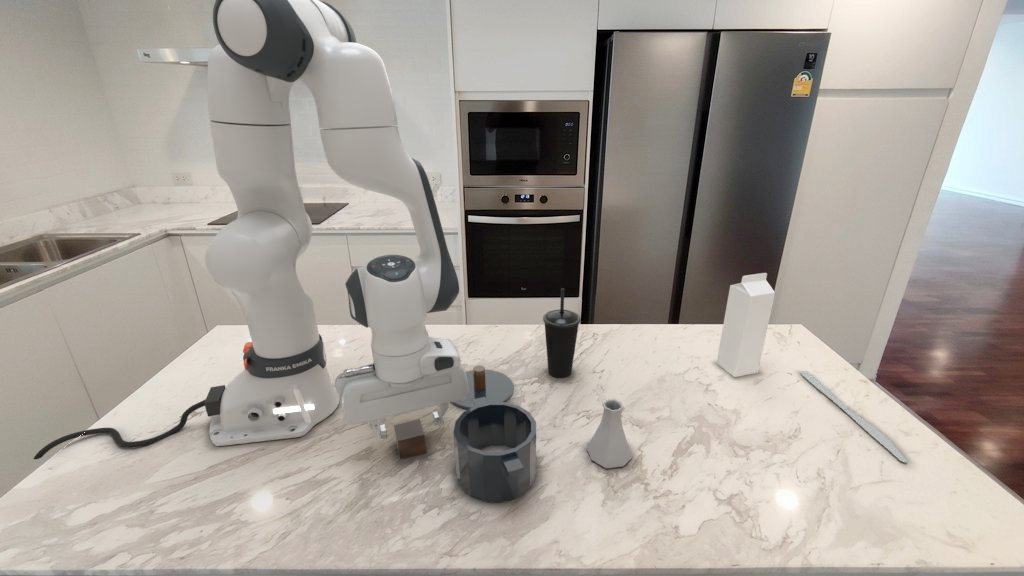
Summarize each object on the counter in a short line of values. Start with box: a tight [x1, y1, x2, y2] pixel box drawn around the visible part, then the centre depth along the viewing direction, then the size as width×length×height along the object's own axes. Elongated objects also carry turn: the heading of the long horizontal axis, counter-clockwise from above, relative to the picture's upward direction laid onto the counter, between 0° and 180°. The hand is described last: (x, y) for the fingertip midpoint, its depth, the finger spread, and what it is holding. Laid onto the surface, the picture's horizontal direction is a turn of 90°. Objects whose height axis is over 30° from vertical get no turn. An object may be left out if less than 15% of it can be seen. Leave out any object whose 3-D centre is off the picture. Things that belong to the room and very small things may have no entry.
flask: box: [586, 398, 633, 469], centre depth 79 cm, size 7×7×10 cm
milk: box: [716, 272, 776, 378], centre depth 101 cm, size 6×6×22 cm
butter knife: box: [800, 370, 908, 464], centre depth 90 cm, size 1×27×3 cm
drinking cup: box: [542, 287, 582, 380], centre depth 100 cm, size 8×8×20 cm
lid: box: [450, 364, 514, 410], centre depth 97 cm, size 14×14×6 cm
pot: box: [452, 397, 537, 504], centre depth 76 cm, size 13×18×9 cm
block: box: [393, 418, 427, 460], centre depth 81 cm, size 4×4×4 cm
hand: (411, 429), depth 81 cm, fingers open, 8 cm apart
